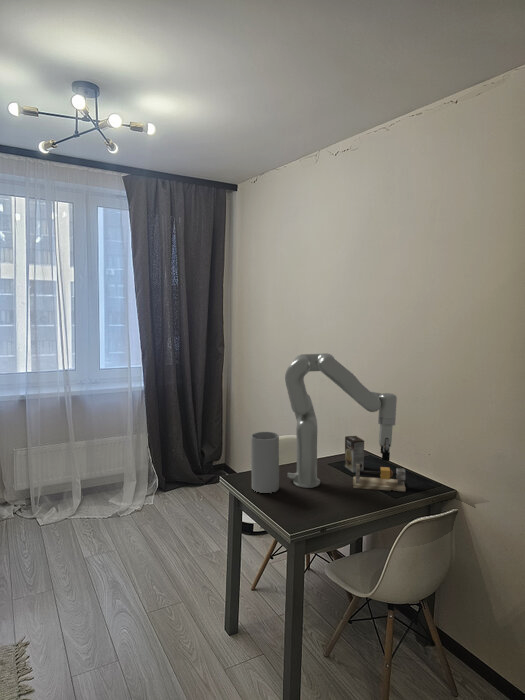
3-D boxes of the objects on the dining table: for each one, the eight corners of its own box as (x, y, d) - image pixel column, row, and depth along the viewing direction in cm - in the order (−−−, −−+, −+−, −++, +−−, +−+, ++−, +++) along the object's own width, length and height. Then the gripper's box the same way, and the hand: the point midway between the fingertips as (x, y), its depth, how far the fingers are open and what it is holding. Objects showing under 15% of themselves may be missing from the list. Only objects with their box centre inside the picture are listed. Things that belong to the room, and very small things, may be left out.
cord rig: (353, 487, 210) (353, 469, 209) (353, 479, 220) (353, 462, 219) (405, 491, 206) (406, 472, 205) (403, 482, 216) (403, 465, 215)
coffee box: (344, 466, 237) (344, 436, 235) (355, 465, 239) (355, 435, 237) (352, 473, 228) (353, 441, 227) (364, 471, 230) (364, 440, 229)
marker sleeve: (380, 479, 210) (381, 470, 210) (380, 475, 215) (380, 466, 214) (390, 479, 210) (390, 470, 209) (389, 476, 214) (389, 467, 213)
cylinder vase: (279, 494, 204) (279, 439, 201) (251, 494, 204) (250, 440, 201) (278, 483, 216) (278, 431, 213) (251, 483, 216) (251, 431, 213)
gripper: (377, 415, 218) (375, 450, 220) (379, 425, 201) (377, 462, 203) (393, 416, 217) (391, 451, 219) (397, 426, 200) (395, 464, 202)
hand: (384, 457), depth 211 cm, fingers open, 9 cm apart
